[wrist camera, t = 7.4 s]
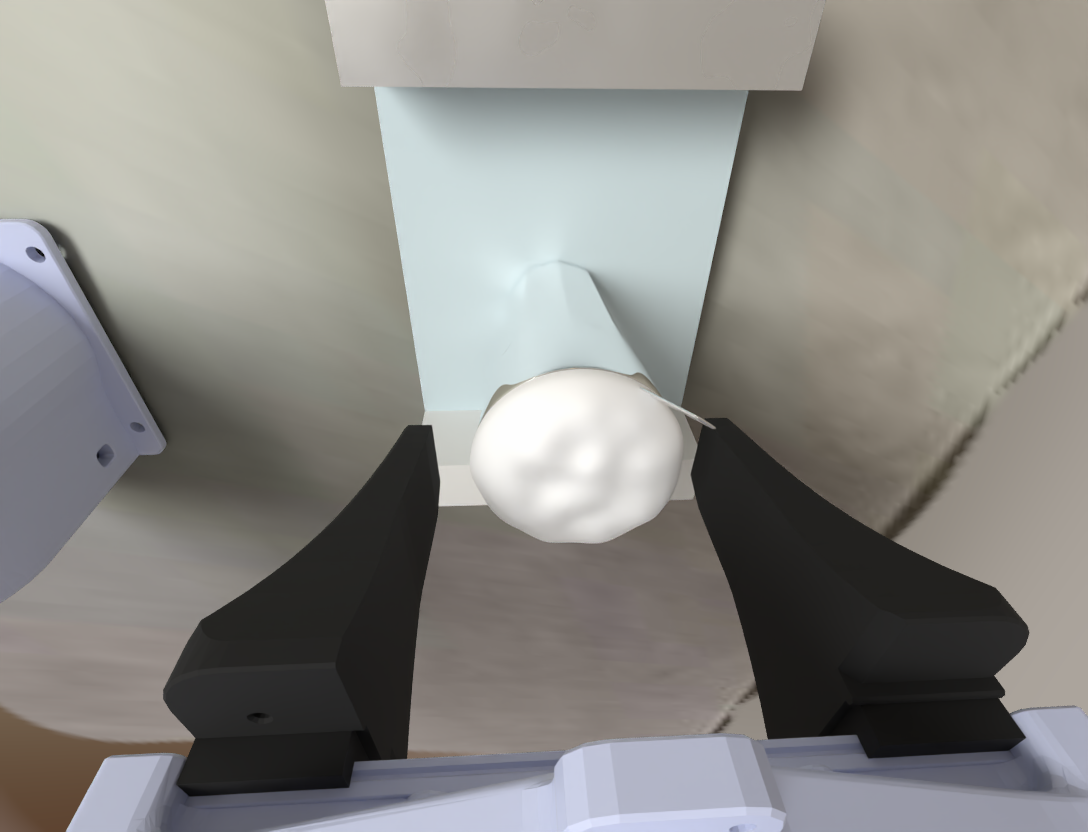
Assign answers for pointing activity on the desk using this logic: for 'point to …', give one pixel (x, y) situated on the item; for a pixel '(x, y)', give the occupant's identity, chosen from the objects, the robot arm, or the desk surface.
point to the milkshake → (572, 418)
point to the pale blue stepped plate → (552, 228)
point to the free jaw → (575, 43)
